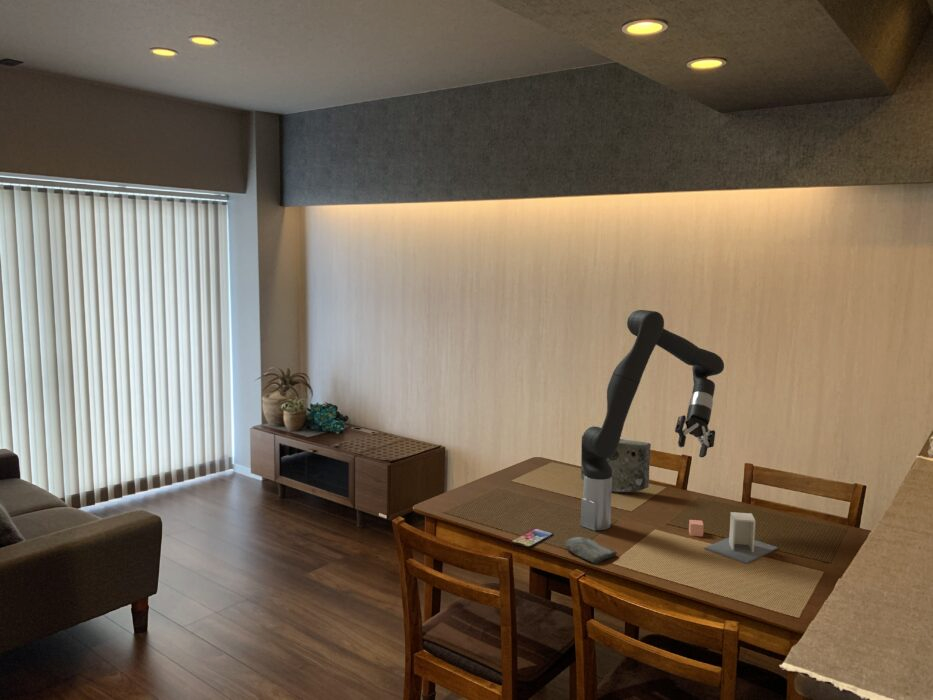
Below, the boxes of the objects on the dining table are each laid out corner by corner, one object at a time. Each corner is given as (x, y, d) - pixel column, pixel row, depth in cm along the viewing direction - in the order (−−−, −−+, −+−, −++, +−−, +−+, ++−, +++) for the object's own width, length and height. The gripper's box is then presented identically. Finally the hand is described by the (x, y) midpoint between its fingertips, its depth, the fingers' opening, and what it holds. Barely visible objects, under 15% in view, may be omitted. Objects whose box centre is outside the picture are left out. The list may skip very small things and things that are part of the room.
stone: (557, 548, 223) (593, 571, 212) (557, 537, 222) (594, 559, 211) (581, 536, 230) (618, 558, 219) (582, 525, 229) (619, 547, 217)
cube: (690, 535, 235) (690, 524, 235) (688, 531, 239) (689, 519, 239) (703, 536, 234) (703, 524, 234) (701, 532, 238) (702, 520, 238)
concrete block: (576, 485, 286) (577, 436, 284) (585, 480, 293) (587, 432, 291) (640, 498, 271) (642, 446, 269) (649, 492, 278) (651, 441, 276)
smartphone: (554, 533, 235) (529, 546, 223) (554, 536, 235) (529, 549, 223) (535, 527, 240) (509, 541, 228) (535, 530, 240) (509, 543, 228)
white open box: (732, 550, 222) (734, 518, 221) (729, 542, 228) (730, 512, 227) (753, 552, 221) (755, 520, 220) (749, 544, 227) (751, 513, 226)
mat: (746, 563, 213) (746, 562, 213) (704, 549, 224) (704, 547, 224) (777, 548, 225) (777, 547, 225) (736, 535, 236) (736, 533, 235)
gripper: (690, 397, 242) (681, 441, 235) (724, 414, 245) (716, 458, 239) (676, 402, 249) (667, 445, 242) (709, 418, 252) (701, 461, 245)
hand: (691, 451), depth 240 cm, fingers open, 8 cm apart
